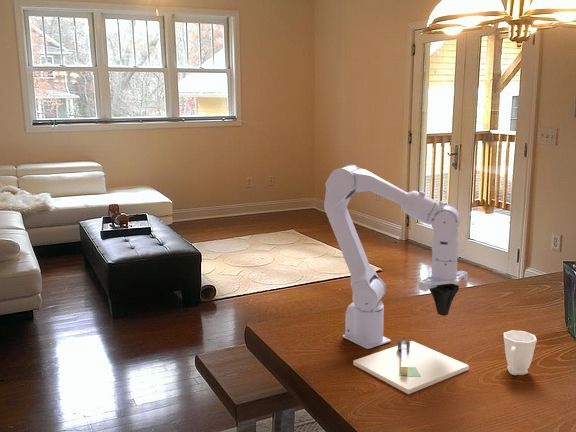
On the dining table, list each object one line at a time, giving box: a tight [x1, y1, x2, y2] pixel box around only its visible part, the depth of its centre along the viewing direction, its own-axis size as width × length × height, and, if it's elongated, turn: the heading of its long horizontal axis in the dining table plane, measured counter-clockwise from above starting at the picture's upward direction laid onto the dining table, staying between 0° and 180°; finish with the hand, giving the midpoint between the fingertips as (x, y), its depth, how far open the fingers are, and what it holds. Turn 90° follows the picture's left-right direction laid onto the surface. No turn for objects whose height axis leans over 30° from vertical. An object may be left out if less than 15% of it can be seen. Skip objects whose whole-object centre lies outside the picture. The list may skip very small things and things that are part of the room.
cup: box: [503, 329, 538, 376], centre depth 126 cm, size 7×10×8 cm
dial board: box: [352, 340, 470, 395], centre depth 130 cm, size 17×19×1 cm
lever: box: [397, 339, 410, 375], centre depth 131 cm, size 14×3×2 cm, turn 170°
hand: (442, 314), depth 137 cm, fingers closed
